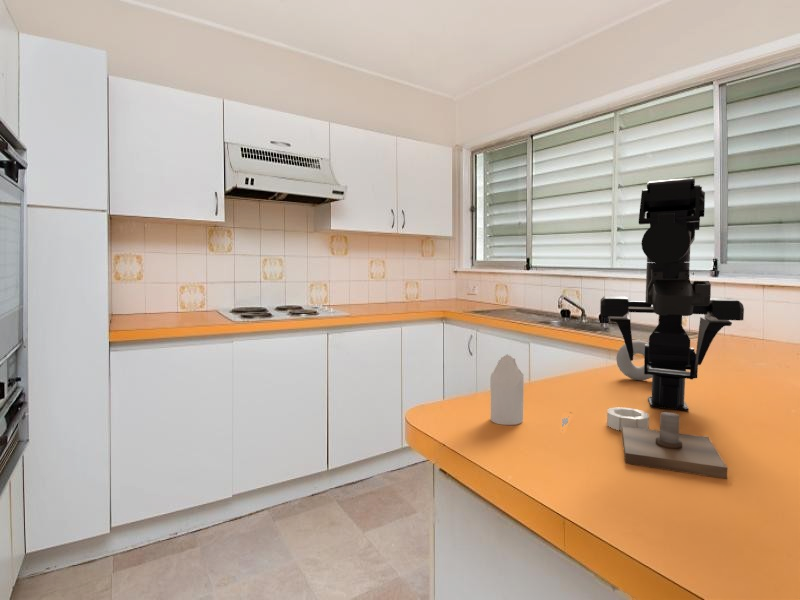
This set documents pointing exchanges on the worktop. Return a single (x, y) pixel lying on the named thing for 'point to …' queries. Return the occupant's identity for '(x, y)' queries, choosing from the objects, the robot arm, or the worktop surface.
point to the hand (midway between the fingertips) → (664, 362)
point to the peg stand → (672, 449)
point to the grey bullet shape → (507, 392)
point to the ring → (627, 418)
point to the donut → (627, 365)
